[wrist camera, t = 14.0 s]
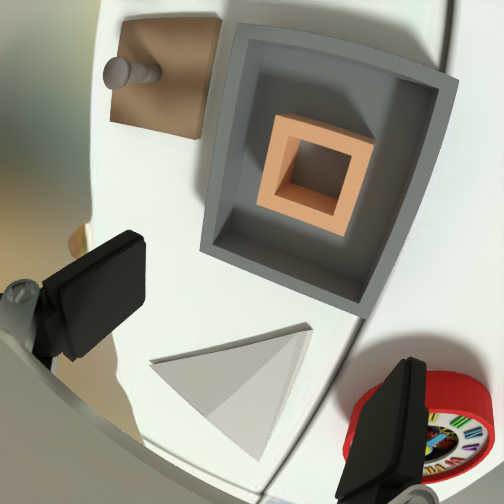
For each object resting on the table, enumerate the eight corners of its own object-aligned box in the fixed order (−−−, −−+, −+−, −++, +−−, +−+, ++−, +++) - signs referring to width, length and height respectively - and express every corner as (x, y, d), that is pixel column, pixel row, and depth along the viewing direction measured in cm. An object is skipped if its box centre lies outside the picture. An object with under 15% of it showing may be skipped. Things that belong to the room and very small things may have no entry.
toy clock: (418, 494, 32) (314, 456, 36) (422, 465, 37) (325, 424, 41) (523, 436, 21) (414, 384, 25) (517, 402, 26) (415, 343, 29)
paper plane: (389, 386, 33) (385, 413, 30) (266, 447, 49) (257, 464, 46) (219, 251, 35) (199, 269, 31) (152, 361, 51) (138, 376, 48)
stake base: (129, 22, 26) (83, 17, 21) (222, 20, 23) (179, 5, 18) (115, 120, 32) (71, 129, 27) (200, 138, 29) (157, 149, 24)
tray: (260, 33, 23) (237, 23, 19) (447, 84, 19) (459, 80, 15) (222, 232, 33) (199, 251, 29) (371, 291, 29) (366, 319, 25)
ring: (292, 113, 24) (275, 114, 21) (375, 139, 22) (374, 145, 19) (273, 190, 28) (256, 204, 24) (350, 218, 26) (343, 236, 23)
